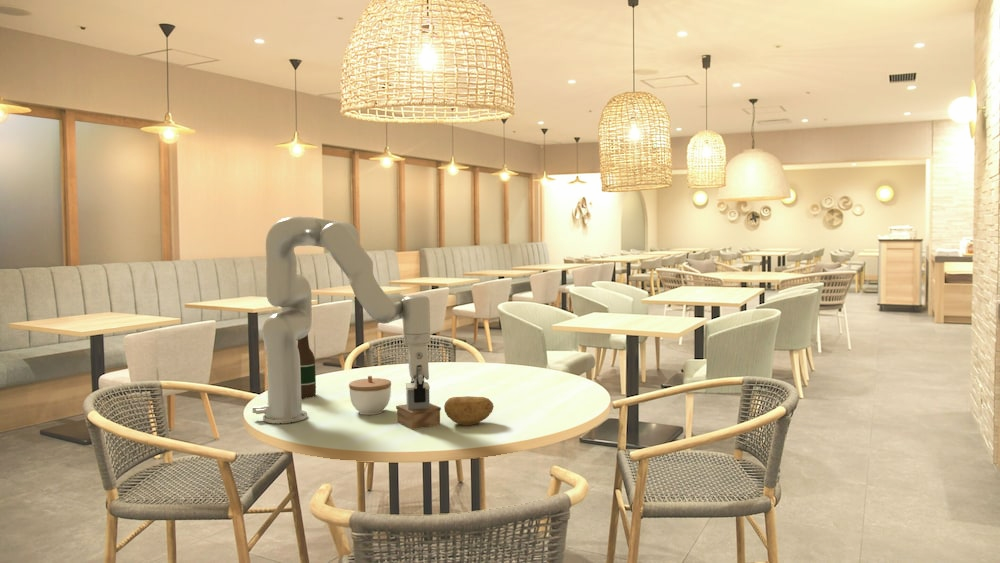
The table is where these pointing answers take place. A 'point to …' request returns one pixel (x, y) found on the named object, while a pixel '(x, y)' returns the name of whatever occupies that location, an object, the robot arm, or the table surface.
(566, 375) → the table surface
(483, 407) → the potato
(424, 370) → the robot arm
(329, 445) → the table surface
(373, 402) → the lidded bowl
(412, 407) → the beige cube
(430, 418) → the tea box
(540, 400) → the table surface
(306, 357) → the beer bottle
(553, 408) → the table surface
